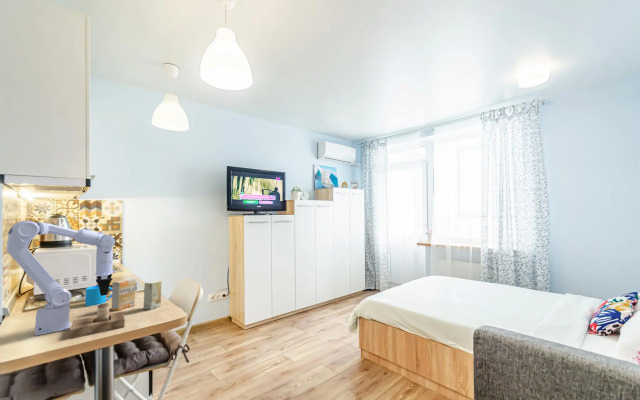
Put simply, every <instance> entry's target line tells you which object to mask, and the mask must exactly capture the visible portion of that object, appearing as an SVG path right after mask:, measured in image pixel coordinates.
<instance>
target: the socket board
mask: <svg viewBox="0 0 640 400" xmlns="http://www.w3.org/2000/svg"><path fill="white" fill-rule="evenodd" d="M124 314H125V313H124V311H118V312H111V313H109V320H106V321H101V322H97V315H95V316H90V317H86V318H79V319H74V320H73V321H72V322H71V325H70V328H69V339H74V338H75V339H76V338H78V337H83V336H84V337H85V336H88V335H94V334H98V333H104V332H107V331H112V330H117V329H121V328H125V322H126V321H125V320H126V319H125V315H124Z"/></svg>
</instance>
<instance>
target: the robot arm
mask: <svg viewBox="0 0 640 400" xmlns="http://www.w3.org/2000/svg"><path fill="white" fill-rule="evenodd" d="M46 234H51V235H58V236H61V237H68V238H72V239H73V240H74V241H75V243H79V244H85V245H89V246H95V247H96V254H95V255H96V256H95V257H96V258H95V261H96V262H95V263H96V264H95V276H96V279H95V282H96V284H97V286H99V290H100V294H101V296H103V295H106V296H108V293H109V290H110V289H109V287H110V285H111V283H112V282H113V277H112V276H113V274H114V273H117V271H116V270H113V265H114V263H113V262H114V258H113V257H114V256H113V255H114V251H113V250H114V249H113V248H114V247H113V246H114V245H115V244H116V240H115V237H114V236H113V235H111V234H105V233H104V232H102V231H99V232H98V231H95V230H91V228H88V227H86V228H81V229H78V230H77V229H76V230H75V229H71V228H68V227H64V226H61V225H55V224H52V223H49V222H47V223H46V222H40V221H39V222H37V221H32V220H22V221H21V220H19V221H17V222H15V223H14V224H12V226H11V227H10V229H9V231H8V233H7V243H6V251H7V254H8V255H9V256H11V258H12V259H13V260H14V261H15V262H16V263H17V265H19V266H20V268H21V269H22V270H23V271H24V272H25V274H26V275H27V276H29V278H30V280H32V281H33V282H34V283H35V285H36V286H38V288H39V289H40V290H41V292H42V293H43V296H44V300H45V301H46V302H47V303H46V304H45V305H44V307H41V308H38V309H37V310H36V315H35V326H34V330H35V332H34V336H39V335H40V336H41V335H46V334H51V333H57V332H60V331H67V330H70V329H71V326H72V321H70V310H71V302H70V301H71V300H72V293H71V292H70V291H69V290H67V289H65V288H64V287H62V286H61V285H60V284H59V283H58V282H57V281H56V280H55V279H54V278H53V277H52V275H50V273H49V272H48V271H47V270H46V269H45V268H44V266H43V265H42V264H41V263H40V262H39V261H38V259H37V258H36V257H35V255H33V253H32V252H31V251H30V250H29V246H30V244H31V242H32V240H33V239H34V238H36V236H37V235H46Z"/></svg>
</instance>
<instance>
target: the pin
mask: <svg viewBox="0 0 640 400" xmlns="http://www.w3.org/2000/svg"><path fill="white" fill-rule="evenodd" d="M109 314H110V303H106V302H105V303H103V304H99V305H97V313H96V316H97V322H101V321H106V320H109Z"/></svg>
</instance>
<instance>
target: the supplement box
mask: <svg viewBox="0 0 640 400" xmlns="http://www.w3.org/2000/svg"><path fill="white" fill-rule="evenodd" d="M111 288H112V290H111V294H112V297H111V311H118V312H120V311H122V310H125V309H127V308H132V307H134V306H135V301H136V278H126V279H122V280H118V281H117V280H115V281H112V287H111Z"/></svg>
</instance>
